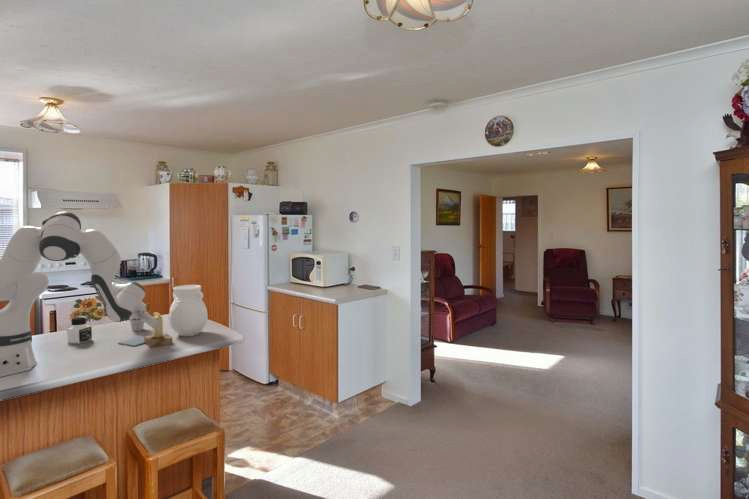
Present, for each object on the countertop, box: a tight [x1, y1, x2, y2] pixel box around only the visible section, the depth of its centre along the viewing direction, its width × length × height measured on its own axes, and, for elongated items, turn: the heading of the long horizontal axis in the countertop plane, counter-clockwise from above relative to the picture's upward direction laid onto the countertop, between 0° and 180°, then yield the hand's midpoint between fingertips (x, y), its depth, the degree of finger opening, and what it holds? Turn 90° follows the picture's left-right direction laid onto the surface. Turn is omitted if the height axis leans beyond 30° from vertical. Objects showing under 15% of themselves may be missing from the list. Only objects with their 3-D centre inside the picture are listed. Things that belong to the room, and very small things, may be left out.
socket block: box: [143, 332, 173, 348], centre depth 206 cm, size 10×10×3 cm
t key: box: [152, 311, 164, 339], centre depth 206 cm, size 4×8×14 cm, turn 40°
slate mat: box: [117, 336, 146, 347], centre depth 208 cm, size 11×11×1 cm
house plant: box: [129, 302, 151, 332], centre depth 228 cm, size 14×14×16 cm
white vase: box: [168, 284, 209, 337], centre depth 222 cm, size 19×18×25 cm
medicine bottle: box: [66, 315, 93, 345], centre depth 208 cm, size 7×7×12 cm
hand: (159, 326), depth 206 cm, fingers closed on t key, 4 cm apart
